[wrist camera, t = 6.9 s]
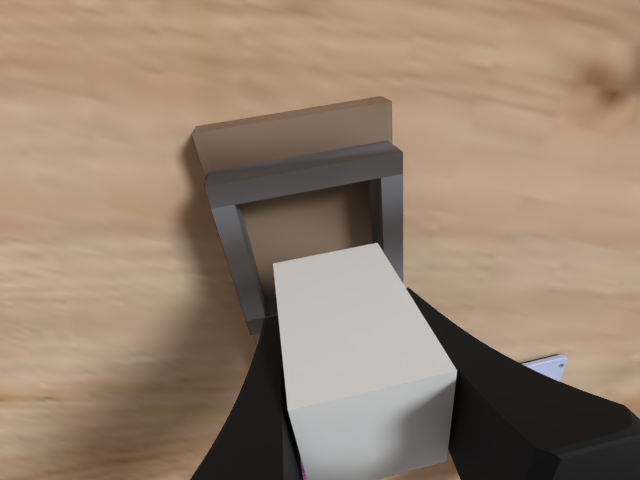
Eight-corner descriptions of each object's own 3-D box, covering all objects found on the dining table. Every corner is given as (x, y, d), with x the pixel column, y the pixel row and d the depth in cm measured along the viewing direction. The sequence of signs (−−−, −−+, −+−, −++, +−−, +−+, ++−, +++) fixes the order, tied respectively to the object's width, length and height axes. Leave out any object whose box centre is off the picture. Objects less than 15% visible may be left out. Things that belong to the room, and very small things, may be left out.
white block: (381, 328, 16) (445, 470, 11) (292, 348, 15) (314, 504, 10) (377, 242, 13) (457, 370, 8) (273, 263, 13) (287, 410, 8)
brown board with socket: (390, 384, 29) (424, 468, 23) (280, 410, 28) (288, 503, 22) (381, 96, 17) (443, 124, 12) (196, 126, 17) (169, 171, 11)
